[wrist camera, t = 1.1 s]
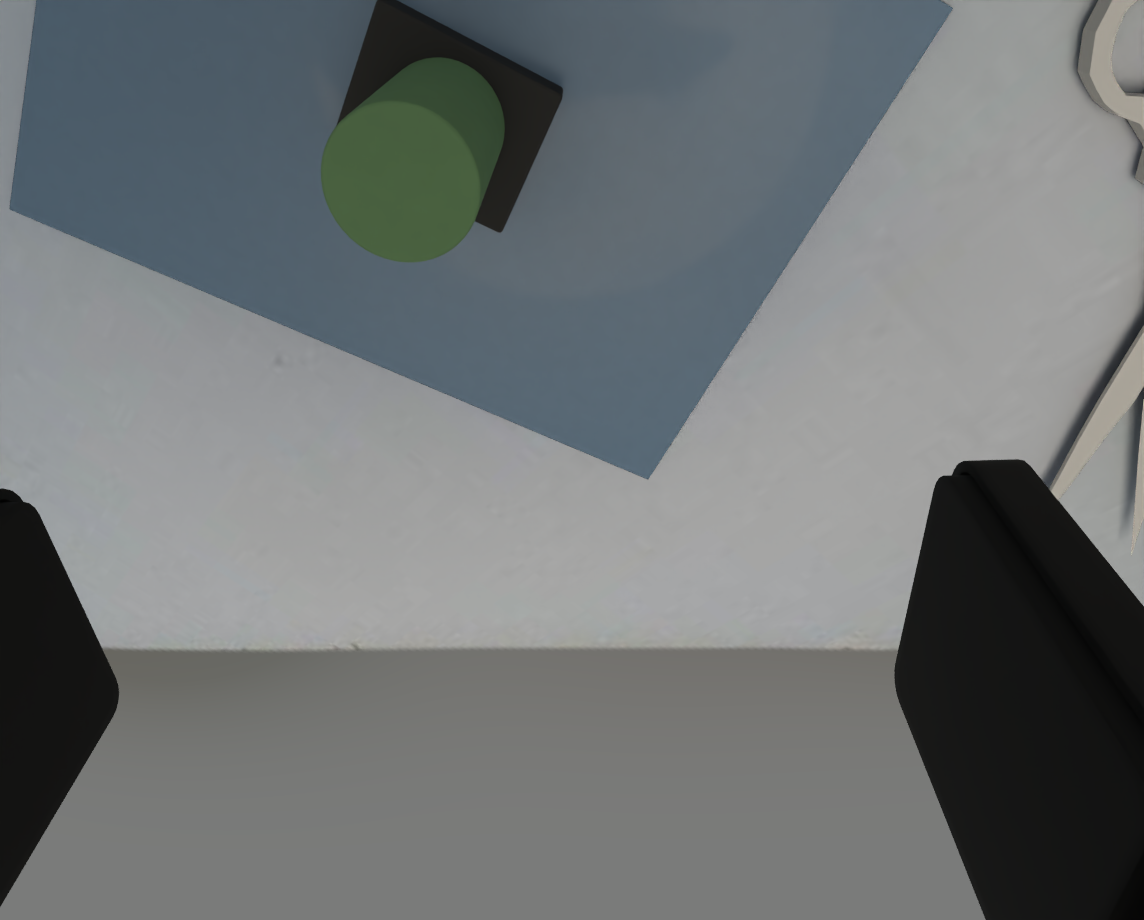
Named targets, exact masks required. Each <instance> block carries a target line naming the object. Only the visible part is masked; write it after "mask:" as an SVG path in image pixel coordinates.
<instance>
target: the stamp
mask: <svg viewBox="0 0 1144 920" xmlns="http://www.w3.org/2000/svg"><path fill="white" fill-rule="evenodd" d="M562 97H563V88H562V87H561V86H559V85H557V84H555V83H553V82H551V81H549V80H547V79H546V78H544V77H542V76H540V75H538V74H536V73H534V72H532V71H530V70H528V69H527V68H525V67H523V66H521V65H519V64H517V63H515V62H513V61H511V60H510V59H508V58H506V57H504V56H502V55H500V54H498V53H496V52H494V51H492V50H491V49H489V48H487V47H485V46H483V45H481V44H479V43H477V42H475V41H473V40H472V39H470V38H468V37H466V36H464V35H462V34H460V33H458V32H456V31H454V30H453V29H451V28H449V27H447V26H445V25H443V24H441V23H439V22H437V21H435V20H434V19H432V18H430V17H428V16H426V15H424V14H422V13H420V12H418V11H416V10H415V9H413V8H411V7H409V6H407V5H405V4H403V3H401V2H399V1H397V0H377V1H376V4H375V7H374V10H373V13H372V16H371V19H370V23H369V26H368V29H367V32H366V35H365V38H364V41H363V44H362V47H361V51H360V54H359V57H358V60H357V63H356V66H355V69H354V72H353V76H352V79H351V82H350V85H349V88H348V91H347V94H346V97H345V100H344V104H343V107H342V110H341V113H340V116H339V119H338V122H337V125H336V127H335V129H334V130H333V132H332V133H331V135H330V137H329V138H328V141H327V143H326V146H325V148H324V152H323V156H322V162H321V183H322V189H323V193H324V197H325V200H326V203H327V205H328V208H329V210H330V212H331V214H332V215H333V217H334V219H335V221H336V222H337V223H338V225H339V226H340V228H341V229H342V230H343V231H344V232H345V233H346V234H347V235H348V237H349V238H351V239H352V240H353V241H354V242H355V243H356V244H358V245H359V246H361V247H362V248H364V249H365V250H367V251H369V252H370V253H372V254H374V255H377V256H379V257H382V258H384V259H388V260H392V261H397V262H422V261H427V260H431V259H434V258H437V257H439V256H441V255H443V254H445V253H447V252H449V251H450V250H452V249H453V248H454V247H455V246H457V245H458V244H459V243H460V242H461V241H462V240H463V239H464V238H465V236H466V235H467V234H468V232H469V231H470V229H471V227H472V225H473V223H474V222H477V223H479V224H481V225H484V226H486V227H488V228H490V229H492V230H494V231H496V232H498V233H501V232H502V231H503V229H504V227H505V225H506V223H507V220H508V218H509V216H510V214H511V212H512V209H513V207H514V205H515V203H516V200H517V198H518V196H519V194H520V192H521V189H522V187H523V185H524V183H525V180H526V178H527V176H528V174H529V172H530V169H531V167H532V165H533V163H534V160H535V158H536V156H537V154H538V151H539V149H540V147H541V145H542V143H543V140H544V138H545V136H546V134H547V131H548V129H549V127H550V125H551V123H552V120H553V118H554V116H555V114H556V111H557V109H558V107H559V105H560V103H561V100H562Z"/></svg>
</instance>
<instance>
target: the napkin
mask: <svg viewBox="0 0 1144 920" xmlns="http://www.w3.org/2000/svg"><path fill="white" fill-rule="evenodd" d="M376 1H377V0H37V1H36V9H35V17H34V24H33V32H32V40H31V47H30V55H29V63H28V70H27V78H26V86H25V93H24V101H23V109H22V117H21V124H20V132H19V140H18V147H17V155H16V163H15V170H14V178H13V186H12V193H11V201H10V210H12V211H15V212H17V213H19V214H22V215H24V216H27V217H29V218H31V219H34V220H36V221H38V222H41V223H43V224H45V225H48V226H50V227H53V228H55V229H57V230H60V231H62V232H64V233H67V234H69V235H71V236H74V237H76V238H79V239H81V240H83V241H86V242H88V243H90V244H93V245H95V246H97V247H100V248H102V249H105V250H107V251H109V252H112V253H114V254H116V255H119V256H121V257H123V258H126V259H128V260H131V261H133V262H135V263H138V264H140V265H142V266H145V267H147V268H149V269H152V270H154V271H157V272H159V273H161V274H164V275H166V276H168V277H171V278H173V279H175V280H178V281H180V282H183V283H185V284H187V285H190V286H192V287H194V288H197V289H199V290H201V291H204V292H206V293H209V294H211V295H213V296H216V297H218V298H220V299H223V300H225V301H227V302H230V303H232V304H235V305H237V306H239V307H242V308H244V309H246V310H249V311H251V312H253V313H256V314H258V315H261V316H263V317H265V318H268V319H270V320H272V321H275V322H277V323H279V324H282V325H284V326H287V327H289V328H291V329H294V330H296V331H298V332H301V333H303V334H305V335H308V336H310V337H313V338H315V339H317V340H320V341H322V342H324V343H327V344H329V345H331V346H334V347H336V348H339V349H341V350H343V351H346V352H348V353H350V354H353V355H355V356H357V357H360V358H362V359H365V360H367V361H369V362H372V363H374V364H376V365H379V366H381V367H383V368H386V369H388V370H391V371H393V372H395V373H398V374H400V375H402V376H405V377H407V378H409V379H412V380H414V381H417V382H419V383H421V384H424V385H426V386H428V387H431V388H433V389H435V390H438V391H440V392H443V393H445V394H447V395H450V396H452V397H454V398H457V399H459V400H461V401H464V402H466V403H469V404H471V405H473V406H476V407H478V408H480V409H483V410H485V411H487V412H490V413H492V414H495V415H497V416H499V417H502V418H504V419H506V420H509V421H511V422H513V423H516V424H518V425H521V426H523V427H525V428H528V429H530V430H532V431H535V432H537V433H539V434H542V435H544V436H547V437H549V438H551V439H554V440H556V441H558V442H561V443H563V444H565V445H568V446H570V447H573V448H575V449H577V450H580V451H582V452H584V453H587V454H589V455H591V456H594V457H596V458H599V459H601V460H603V461H606V462H608V463H610V464H613V465H615V466H617V467H620V468H622V469H625V470H627V471H629V472H632V473H634V474H636V475H639V476H641V477H643V478H646V479H649V477H650V476H651V474H652V473H653V471H654V469H655V468H656V466H657V465H658V463H659V462H660V460H661V459H662V457H663V456H664V454H665V452H666V451H667V449H668V448H669V446H670V445H671V443H672V442H673V440H674V439H675V437H676V435H677V434H678V432H679V431H680V429H681V428H682V426H683V425H684V423H685V422H686V420H687V418H688V417H689V415H690V414H691V412H692V411H693V409H694V408H695V406H696V405H697V403H698V401H699V400H700V398H701V397H702V395H703V394H704V392H705V391H706V389H707V388H708V386H709V384H710V383H711V381H712V380H713V378H714V377H715V375H716V374H717V372H718V371H719V369H720V367H721V366H722V364H723V363H724V361H725V360H726V358H727V357H728V355H729V354H730V352H731V350H732V349H733V347H734V346H735V344H736V343H737V341H738V340H739V338H740V337H741V335H742V333H743V332H744V330H745V329H746V327H747V326H748V324H749V323H750V321H751V320H752V318H753V316H754V315H755V313H756V312H757V310H758V309H759V307H760V306H761V304H762V303H763V301H764V299H765V298H766V296H767V295H768V293H769V292H770V290H771V289H772V287H773V286H774V284H775V282H776V281H777V279H778V278H779V276H780V275H781V273H782V272H783V270H784V269H785V267H786V266H787V264H788V262H789V261H790V259H791V258H792V256H793V255H794V253H795V252H796V250H797V249H798V247H799V245H800V244H801V242H802V241H803V239H804V238H805V236H806V235H807V233H808V232H809V230H810V228H811V227H812V225H813V224H814V222H815V221H816V219H817V218H818V216H819V215H820V213H821V211H822V210H823V208H824V207H825V205H826V204H827V202H828V201H829V199H830V198H831V196H832V194H833V193H834V191H835V190H836V188H837V187H838V185H839V184H840V182H841V181H842V179H843V177H844V176H845V174H846V173H847V171H848V170H849V168H850V167H851V165H852V164H853V162H854V160H855V159H856V157H857V156H858V154H859V153H860V151H861V150H862V148H863V147H864V145H865V143H866V142H867V140H868V139H869V137H870V136H871V134H872V133H873V131H874V130H875V128H876V126H877V125H878V123H879V122H880V120H881V119H882V117H883V116H884V114H885V113H886V111H887V109H888V108H889V106H890V105H891V103H892V102H893V100H894V99H895V97H896V96H897V94H898V92H899V91H900V89H901V88H902V86H903V85H904V83H905V82H906V80H907V79H908V77H909V75H910V74H911V72H912V71H913V69H914V68H915V66H916V65H917V63H918V62H919V60H920V58H921V57H922V55H923V54H924V52H925V51H926V49H927V48H928V46H929V45H930V43H931V42H932V40H933V38H934V37H935V35H936V34H937V32H938V31H939V29H940V28H941V26H942V25H943V23H944V21H945V20H946V18H947V17H948V15H949V14H950V12H951V11H952V9H953V8H952V7H950V6H948V5H947V4H945V3H944V2H942V1H940V0H397V1H399V2H401V3H403V4H405V5H407V6H409V7H411V8H413V9H415V10H416V11H418V12H420V13H422V14H424V15H426V16H428V17H430V18H432V19H434V20H435V21H437V22H439V23H441V24H443V25H445V26H447V27H449V28H451V29H453V30H454V31H456V32H458V33H460V34H462V35H464V36H466V37H468V38H470V39H472V40H473V41H475V42H477V43H479V44H481V45H483V46H485V47H487V48H489V49H491V50H492V51H494V52H496V53H498V54H500V55H502V56H504V57H506V58H508V59H510V60H511V61H513V62H515V63H517V64H519V65H521V66H523V67H525V68H527V69H528V70H530V71H532V72H534V73H536V74H538V75H540V76H542V77H544V78H546V79H547V80H549V81H551V82H553V83H555V84H557V85H559V86H561V87H562V88H563V97H562V100H561V103H560V105H559V107H558V109H557V111H556V114H555V116H554V118H553V120H552V123H551V125H550V127H549V129H548V131H547V134H546V136H545V138H544V140H543V143H542V145H541V147H540V149H539V151H538V154H537V156H536V158H535V160H534V163H533V165H532V167H531V169H530V172H529V174H528V176H527V178H526V180H525V183H524V185H523V187H522V189H521V192H520V194H519V196H518V198H517V200H516V203H515V205H514V207H513V209H512V212H511V214H510V216H509V218H508V220H507V223H506V225H505V227H504V229H503V231H502V232H501V233H498V232H496V231H494V230H492V229H490V228H488V227H486V226H484V225H481V224H479V223H477V222H474V223H473V225H472V227H471V229H470V231H469V232H468V234H467V235H466V236H465V238H464V239H463V240H462V241H461V242H460V243H459V244H458V245H457V246H455V247H454V248H453V249H452V250H450V251H449V252H447V253H445V254H443V255H441V256H439V257H437V258H434V259H431V260H427V261H422V262H397V261H392V260H388V259H384V258H382V257H379V256H377V255H374V254H372V253H370V252H369V251H367V250H365V249H364V248H362V247H361V246H359V245H358V244H356V243H355V242H354V241H353V240H352V239H351V238H349V237H348V235H347V234H346V233H345V232H344V231H343V230H342V229H341V228H340V226H339V225H338V223H337V222H336V221H335V219H334V217H333V215H332V214H331V212H330V210H329V208H328V205H327V203H326V200H325V197H324V193H323V189H322V183H321V162H322V156H323V152H324V148H325V146H326V143H327V141H328V138H329V137H330V135H331V133H332V132H333V130H334V129H335V127H336V125H337V122H338V119H339V116H340V113H341V110H342V107H343V104H344V100H345V97H346V94H347V91H348V88H349V85H350V82H351V79H352V76H353V72H354V69H355V66H356V63H357V60H358V57H359V54H360V51H361V47H362V44H363V41H364V38H365V35H366V32H367V29H368V26H369V23H370V19H371V16H372V13H373V10H374V7H375V4H376Z"/></svg>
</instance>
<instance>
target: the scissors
mask: <svg viewBox="0 0 1144 920" xmlns="http://www.w3.org/2000/svg"><path fill="white" fill-rule="evenodd" d="M1136 1H1137V0H1098V2H1097V4H1096V6H1095V8H1094V10H1093V12H1092V13H1091V15H1090V17H1089V19H1088V21H1087V23H1086V25H1085V27H1084V29H1083V34H1082V41H1081V48H1080V56H1079V63H1078V70H1077V71H1078V73H1079V75H1080V77H1081V80H1082V82H1083V84H1084V86H1085V88H1086V89H1087V91H1088V93H1089V94H1090V96H1091V98H1092V99H1093V101H1095V102H1096V103H1097V104H1098V105H1099V106H1101V107H1102V108H1103V109H1104V110H1105V111H1107V112H1109V113H1112V114H1115V115H1117V116H1120V117H1123V118H1125V119H1127V120H1128V122H1129V123H1130V125H1131V127H1132V128H1133V130H1134V132H1135V133H1136V135H1137V137H1138V138H1139V140H1140V141H1141V143H1142V145H1143V149H1142V153H1141V157H1140V160H1139V164H1138V168H1137V172H1136V176H1135V179H1137V180H1138V181H1139V182H1141V183H1142V184H1143V185H1144V94H1141V93H1125V92H1123V90H1122V89H1121V88H1120V86H1119V85H1118V83H1117V82H1116V79H1115V76H1114V73H1113V70H1112V62H1111V55H1112V50H1113V46H1114V42H1115V38H1116V35H1117V31H1118V28H1119V26H1120V24H1121V22H1122V19H1123V17H1124V15H1125V13H1126V11H1127V10H1128V9H1129V8H1130V7H1131V6H1132V5H1133V4H1134V3H1135V2H1136ZM1143 387H1144V326H1143V327H1142V329H1141V330H1140V332H1139V334H1138V335H1137V337H1136V339H1135V340H1134V342H1133V344H1132V345H1131V347H1130V349H1129V350H1128V352H1127V353H1126V355H1125V357H1124V358H1123V360H1122V362H1121V363H1120V365H1119V367H1118V368H1117V370H1116V371H1115V373H1114V375H1113V376H1112V378H1111V380H1110V381H1109V383H1108V385H1107V386H1106V388H1105V390H1104V391H1103V393H1102V394H1101V396H1100V398H1099V399H1098V401H1097V403H1096V405H1095V406H1094V408H1093V410H1092V412H1091V413H1090V415H1089V417H1088V419H1087V420H1086V422H1085V424H1084V426H1083V427H1082V429H1081V431H1080V433H1079V434H1078V436H1077V438H1076V440H1075V442H1074V444H1073V445H1072V447H1071V449H1070V451H1069V453H1068V455H1067V457H1066V459H1065V460H1064V462H1063V464H1062V466H1061V468H1060V470H1059V472H1058V473H1057V475H1056V477H1055V479H1054V481H1053V482H1052V484H1051V486H1050V488H1049V490H1050V491H1051V492H1052V494H1053V495H1054V496H1055V497H1056V498H1057V500H1059V499H1060V498H1061V496H1062V495H1063V494H1064V493H1065V491H1066V490H1067V489H1068V487H1069V486H1070V485H1071V483H1072V482H1073V481H1074V480H1075V478H1076V477H1077V476H1078V474H1079V473H1080V472H1081V470H1082V469H1083V467H1084V466H1085V465H1086V463H1087V462H1088V461H1089V459H1090V458H1091V456H1092V455H1093V454H1094V452H1095V451H1096V450H1097V448H1098V447H1099V445H1100V444H1101V443H1102V441H1103V440H1104V439H1105V438H1106V436H1107V435H1108V434H1109V432H1110V431H1111V430H1112V429H1113V427H1114V426H1115V425H1116V424H1117V422H1118V421H1119V420H1120V419H1121V417H1122V416H1123V415H1124V414H1125V412H1126V411H1127V410H1128V409H1129V407H1130V406H1131V405H1132V404H1133V402H1134V401H1135V400H1136V398H1137V397H1138V395H1139V393H1140V392H1141V390H1142V388H1143ZM1143 518H1144V401H1143V412H1142V422H1141V432H1140V443H1139V454H1138V468H1137V482H1136V495H1135V509H1134V523H1133V537H1132V551H1131V556H1132V552H1133V549H1134V546H1135V543H1136V540H1137V537H1138V534H1139V530H1140V527H1141V524H1142V521H1143Z"/></svg>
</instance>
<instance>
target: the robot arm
mask: <svg viewBox="0 0 1144 920" xmlns="http://www.w3.org/2000/svg"><path fill="white" fill-rule="evenodd" d="M895 687H896V692H897V696H898V699H899V703H900V705H901V708H902V710H903V713H904V715H905V718H906V720H907V723H908V725H909V728H910V730H911V733H912V735H913V738H914V740H915V743H916V745H917V748H918V750H919V753H920V755H921V758H922V760H923V763H924V765H925V768H926V771H927V773H928V776H929V778H930V780H931V783H932V785H933V788H934V791H935V793H936V796H937V798H938V801H939V803H940V805H941V808H942V811H943V813H944V816H945V818H946V821H947V823H948V826H949V828H950V831H951V833H952V836H953V838H954V841H955V843H956V846H957V849H958V851H959V854H960V856H961V859H962V861H963V863H964V866H965V869H966V871H967V874H968V876H969V879H970V881H971V884H972V886H973V889H974V891H975V894H976V896H977V899H978V901H979V904H980V906H981V909H982V911H983V914H984V916H985V919H986V920H1144V606H1143V605H1142V604H1141V603H1140V601H1139V600H1138V599H1137V598H1136V596H1135V595H1134V594H1133V593H1132V591H1131V590H1130V589H1129V588H1128V586H1127V585H1126V584H1125V583H1124V581H1123V580H1122V579H1121V578H1120V577H1119V575H1118V574H1117V573H1116V572H1115V570H1114V569H1113V568H1112V567H1111V565H1110V564H1109V563H1108V562H1107V560H1106V559H1105V558H1104V557H1103V555H1102V554H1101V553H1100V552H1099V551H1098V549H1097V548H1096V547H1095V546H1094V544H1093V543H1092V542H1091V541H1090V539H1089V538H1088V537H1087V536H1086V534H1085V533H1084V532H1083V531H1082V529H1081V528H1080V527H1079V526H1078V524H1077V523H1076V522H1075V521H1074V520H1073V518H1072V517H1071V516H1070V515H1069V513H1068V512H1067V511H1066V510H1065V508H1064V507H1063V506H1062V505H1061V503H1060V502H1059V501H1058V500H1057V498H1056V497H1055V496H1054V495H1053V494H1052V492H1051V491H1050V490H1049V489H1048V487H1047V486H1046V485H1045V484H1044V482H1043V481H1042V480H1041V479H1040V477H1039V476H1038V475H1037V474H1036V472H1035V471H1034V470H1033V469H1032V467H1031V466H1030V465H1028V464H1027V463H1026V462H1025V461H1023V460H1018V459H1016V460H981V461H963V462H961V463H959V464H958V465H957V466H956V468H955V469H954V471H953V474H952V476H942V477H940V478H939V479H938V481H937V482H936V485H935V488H934V492H933V496H932V501H931V505H930V510H929V514H928V519H927V523H926V528H925V532H924V537H923V541H922V546H921V550H920V555H919V559H918V564H917V568H916V573H915V577H914V582H913V586H912V591H911V595H910V600H909V604H908V609H907V613H906V618H905V623H904V627H903V632H902V636H901V641H900V645H899V650H898V654H897V659H896V663H895ZM118 698H119V689H118V683H117V680H116V678H115V675H114V673H113V671H112V669H111V667H110V665H109V663H108V660H107V658H106V656H105V654H104V652H103V650H102V648H101V645H100V643H99V641H98V639H97V637H96V635H95V633H94V630H93V628H92V626H91V624H90V622H89V620H88V618H87V616H86V613H85V611H84V609H83V607H82V605H81V603H80V601H79V598H78V596H77V594H76V592H75V590H74V588H73V586H72V583H71V581H70V579H69V577H68V575H67V573H66V571H65V568H64V566H63V564H62V562H61V560H60V558H59V556H58V553H57V551H56V549H55V547H54V545H53V543H52V541H51V539H50V536H49V534H48V532H47V530H46V528H45V526H44V524H43V521H42V519H41V517H40V515H39V513H38V512H37V510H36V509H35V507H33V506H32V505H31V504H29V503H26V502H23V501H22V499H21V498H20V497H19V496H18V495H17V494H16V493H14V492H13V491H11V490H7V489H0V906H1V905H2V903H3V901H4V899H5V898H6V896H7V894H8V893H9V891H10V889H11V888H12V886H13V884H14V883H15V881H16V879H17V878H18V876H19V874H20V873H21V871H22V869H23V867H24V866H25V864H26V862H27V861H28V859H29V857H30V856H31V854H32V852H33V850H34V849H35V847H36V846H37V844H38V842H39V841H40V839H41V837H42V835H43V834H44V832H45V830H46V829H47V827H48V825H49V824H50V822H51V820H52V819H53V817H54V815H55V814H56V812H57V810H58V809H59V807H60V805H61V803H62V802H63V800H64V798H65V797H66V795H67V793H68V791H69V790H70V788H71V787H72V785H73V783H74V782H75V780H76V778H77V776H78V775H79V773H80V771H81V770H82V768H83V766H84V765H85V763H86V761H87V760H88V758H89V756H90V755H91V753H92V751H93V750H94V748H95V746H96V744H97V743H98V741H99V739H100V738H101V736H102V734H103V733H104V731H105V729H106V728H107V726H108V724H109V723H110V721H111V719H112V717H113V715H114V713H115V711H116V708H117V704H118Z"/></svg>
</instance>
